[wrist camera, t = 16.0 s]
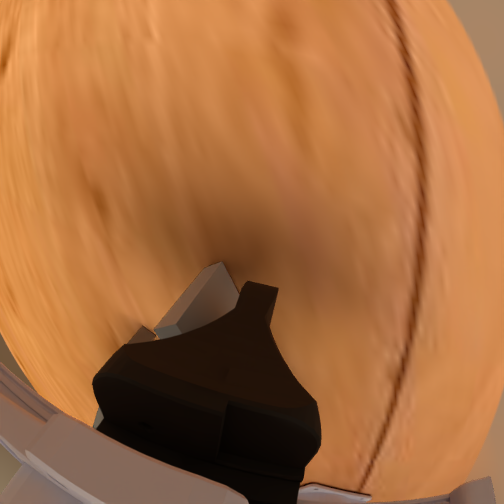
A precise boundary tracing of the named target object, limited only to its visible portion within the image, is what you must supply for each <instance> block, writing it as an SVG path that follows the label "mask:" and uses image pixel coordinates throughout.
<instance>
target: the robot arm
mask: <svg viewBox="0 0 504 504" xmlns="http://www.w3.org/2000/svg"><path fill="white" fill-rule="evenodd" d="M278 289H279V288H276V287H272V286H268V285H264V284H259V283H255V282H251V281H247V282H246V283H245V284H244V286H243V287H242V289H241V292H240V295H239V298H238V300H237V303H236V306H235V308H234V309H232V310H231V311H229V312H228V313H226V314H225V315H223V316H221V317H220V318H218V319H216V320H214V321H212V322H210V323H208V324H206V325H204V326H202V327H200V328H197V329H194V330H192V331H189V332H186V333H183V334H180V335H176V336H173V337H169V338H164V339H160V340H155V341H148V342H141V343H133V344H124V345H123V346H122V347H121V348H120V349H119V350H118V351H116V352H115V353H114V354H113V355H112V357H111V358H110V359H109V360H108V361H107V362H106V363H105V365H104V366H103V367H102V368H101V369H100V370H99V372H98V373H97V374H96V375H95V376H94V378H93V382H92V385H93V390H94V394H95V397H96V400H97V402H98V405H99V407H100V410H101V412H102V415H103V417H104V418H103V420H102V421H101V423H100V424H99V425H98V427H97V428H96V430H95V429H94V428H92V427H90V426H88V425H87V424H85V423H83V422H82V421H79V420H77V419H75V418H73V417H71V416H69V415H68V414H66V413H64V412H63V411H61V410H60V409H58V408H57V407H55V406H54V405H53V404H51V403H50V402H48V401H47V400H46V399H44V398H43V397H42V396H40V395H39V394H38V393H36V392H35V391H34V390H32V389H31V388H30V387H29V386H27V385H26V384H25V383H24V382H23V381H21V380H20V379H19V378H18V377H17V376H16V375H14V374H13V373H12V372H11V371H10V370H8V368H6V367H5V366H4V365H3V364H2V363H1V362H0V443H1V444H2V445H3V446H4V447H5V448H6V449H7V450H8V451H9V452H10V453H11V454H12V455H13V456H14V457H15V458H16V459H17V460H18V461H19V462H20V463H21V464H22V466H21V467H20V468H19V470H18V471H17V472H16V474H15V475H14V476H13V478H12V479H11V481H10V482H9V483H8V485H7V486H6V487H5V489H4V490H3V491H2V493H1V494H0V504H496V500H495V495H494V490H493V485H492V480H491V477H490V476H488V477H485V478H481V479H477V480H473V481H469V482H467V483H464V484H462V485H460V486H459V487H457V488H456V489H454V490H453V491H452V492H451V493H450V494H445V495H440V496H434V497H428V498H421V499H413V500H404V501H392V502H374V503H366V501H369V500H371V499H372V496H367V495H362V494H356V493H351V492H346V491H342V490H338V489H333V488H329V487H325V486H321V485H318V484H309V485H306V486H303V487H300V482H302V481H303V478H304V472H305V467H306V466H307V464H308V463H309V462H310V461H311V459H312V458H313V457H314V456H315V454H316V453H317V452H318V450H319V448H320V446H321V423H320V416H319V411H318V406H317V402H316V401H315V400H314V399H313V398H312V396H311V395H310V394H309V393H308V392H307V391H306V390H305V389H304V388H303V387H302V386H301V384H300V383H299V382H298V381H297V379H296V378H295V377H294V375H293V374H292V372H291V371H290V369H289V367H288V366H287V364H286V362H285V361H284V359H283V358H282V356H281V354H280V352H279V350H278V348H277V345H276V343H275V341H274V338H273V336H272V333H271V330H270V323H271V318H272V314H273V310H274V306H275V302H276V298H277V294H278ZM299 487H300V488H299Z"/></svg>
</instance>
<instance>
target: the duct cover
mask: <svg viewBox="0 0 504 504" xmlns="http://www.w3.org/2000/svg"><path fill="white" fill-rule="evenodd" d="M238 298H239V293H238V291H237V289H236V287H235V285H234V283H233V281H232V279H231V277H230V275H229V274H228V272H227V270H226V268H225V266H224V264H223V262H219V263H216V264H214V265H211V266H208V267H205V268H204V269H203V270H202V271H201V272H200V274H199V275H198V276H197V277H196V278H195V280H194V281H193V282H192V283H191V284H190V286H189V287H188V288H187V289H186V290H185V292H184V293H183V294H182V295H181V296H180V298H179V299H178V300H177V301H176V303H175V304H174V305H173V306H172V307H171V309H170V310H169V311H168V312H167V314H166V315H165V316H164V317H163V318H162V320H161V321H160V322H159V323H158V325H157V326H156V327H155V328H154V331H155V332H156V334H157V335H158V337H159V338H160V339H164V338H169V337H173V336H176V335H180V334H183V333H186V332H189V331H192V330H194V329H197V328H200V327H202V326H204V325H206V324H208V323H210V322H212V321H214V320H216V319H218V318H220V317H221V316H223V315H225V314H226V313H228V312H229V311H231V310H232V309H234V308H235V306H236V303H237V300H238Z"/></svg>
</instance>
